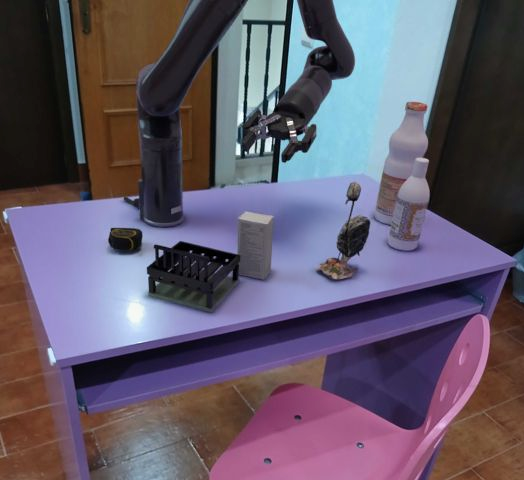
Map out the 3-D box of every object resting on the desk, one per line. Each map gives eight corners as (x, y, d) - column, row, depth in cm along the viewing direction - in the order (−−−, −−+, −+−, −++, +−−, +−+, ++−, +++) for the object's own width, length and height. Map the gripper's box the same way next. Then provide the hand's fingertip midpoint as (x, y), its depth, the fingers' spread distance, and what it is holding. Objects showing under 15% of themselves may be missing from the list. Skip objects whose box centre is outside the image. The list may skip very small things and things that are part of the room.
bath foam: (402, 253, 127) (423, 166, 115) (381, 242, 132) (399, 156, 120) (423, 248, 130) (445, 162, 119) (401, 237, 135) (421, 153, 123)
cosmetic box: (270, 271, 115) (275, 216, 108) (263, 281, 112) (268, 224, 105) (242, 265, 117) (245, 210, 110) (234, 274, 113) (237, 217, 106)
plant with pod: (373, 274, 118) (393, 181, 106) (329, 284, 113) (345, 187, 101) (350, 258, 123) (367, 168, 112) (307, 266, 118) (320, 173, 107)
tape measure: (143, 241, 123) (142, 225, 120) (140, 255, 117) (139, 239, 115) (111, 240, 122) (110, 224, 120) (107, 254, 116) (105, 237, 114)
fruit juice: (375, 210, 149) (398, 97, 132) (411, 216, 147) (438, 102, 131) (371, 222, 141) (394, 104, 125) (408, 229, 139) (437, 110, 123)
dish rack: (148, 296, 104) (145, 245, 98) (180, 267, 114) (179, 220, 108) (211, 313, 100) (212, 261, 95) (239, 282, 111) (241, 234, 105)
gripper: (267, 81, 115) (229, 128, 108) (330, 96, 111) (295, 146, 104) (269, 114, 122) (234, 160, 114) (329, 129, 117) (296, 178, 110)
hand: (263, 153), depth 109 cm, fingers open, 8 cm apart
